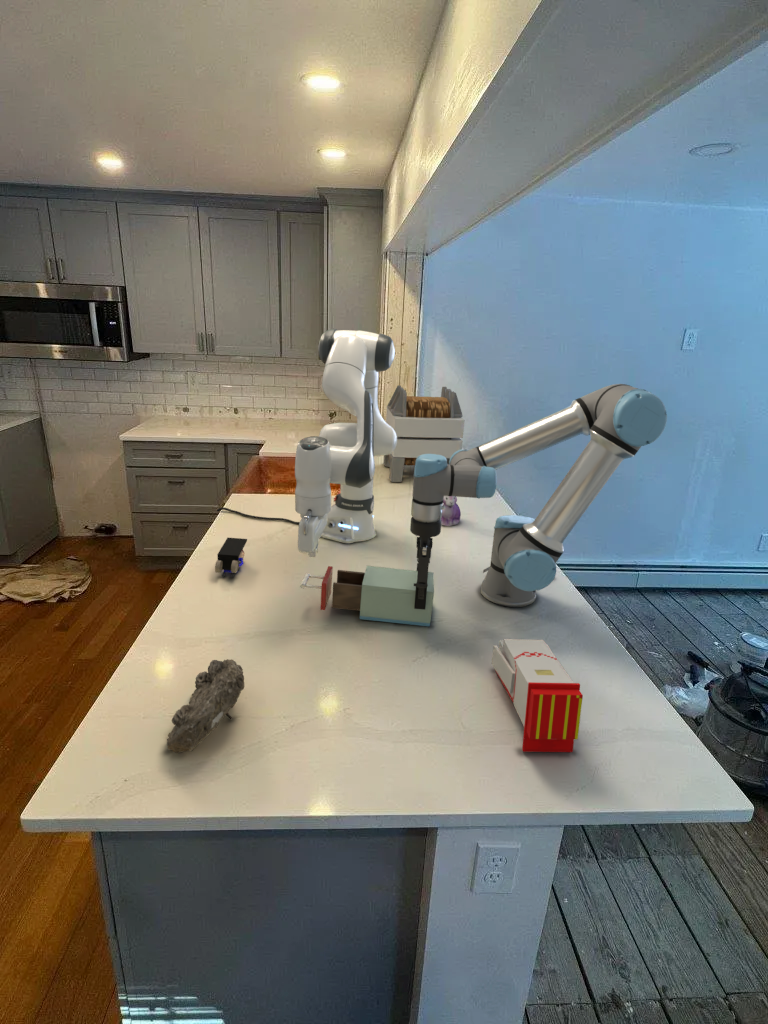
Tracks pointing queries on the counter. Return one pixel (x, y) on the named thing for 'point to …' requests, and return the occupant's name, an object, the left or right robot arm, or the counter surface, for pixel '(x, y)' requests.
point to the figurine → (450, 511)
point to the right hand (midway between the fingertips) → (420, 597)
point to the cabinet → (394, 596)
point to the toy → (539, 694)
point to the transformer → (423, 428)
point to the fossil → (206, 705)
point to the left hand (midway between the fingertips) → (313, 555)
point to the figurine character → (230, 556)
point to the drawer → (339, 588)
